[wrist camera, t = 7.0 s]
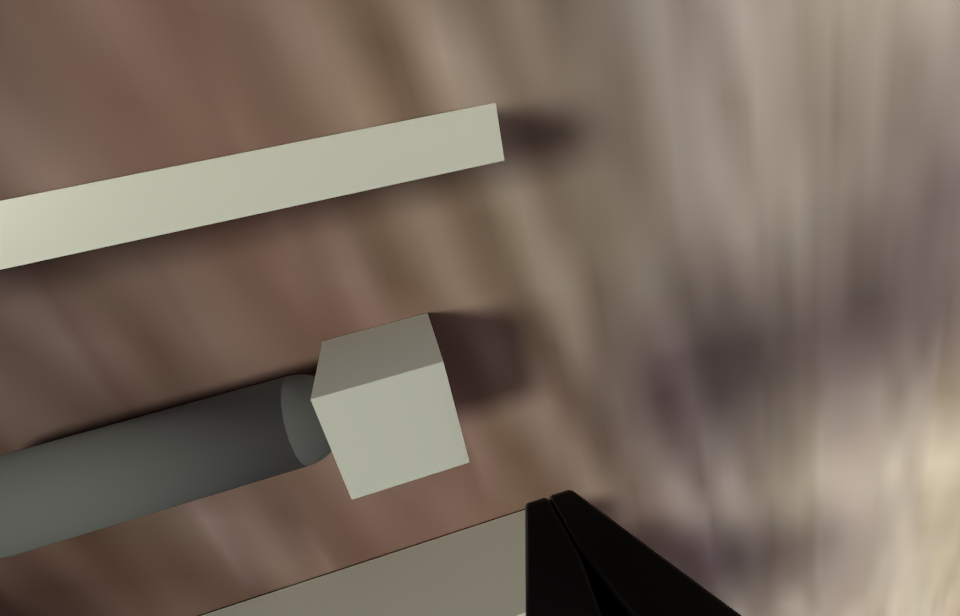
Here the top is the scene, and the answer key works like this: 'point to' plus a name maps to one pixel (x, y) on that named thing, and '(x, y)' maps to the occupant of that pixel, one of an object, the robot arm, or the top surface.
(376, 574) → the white slat
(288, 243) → the top surface
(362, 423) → the grey bar
